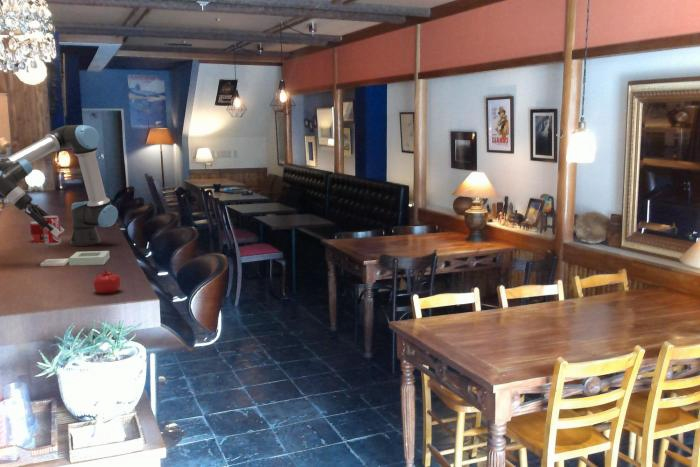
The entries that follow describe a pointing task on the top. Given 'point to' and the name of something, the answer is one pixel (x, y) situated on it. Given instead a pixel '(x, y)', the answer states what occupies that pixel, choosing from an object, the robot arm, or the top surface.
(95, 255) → the holder
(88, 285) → the top surface
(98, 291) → the pomegranate
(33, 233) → the canned food
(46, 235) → the soda can
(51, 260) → the tile
